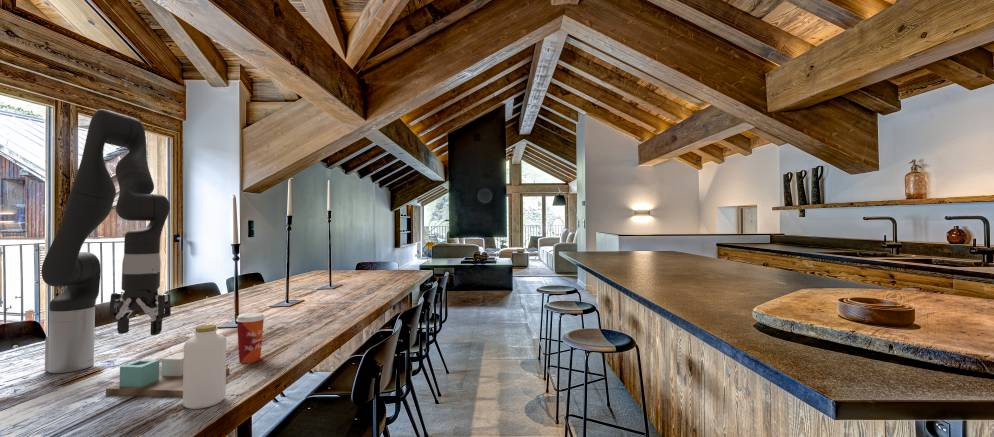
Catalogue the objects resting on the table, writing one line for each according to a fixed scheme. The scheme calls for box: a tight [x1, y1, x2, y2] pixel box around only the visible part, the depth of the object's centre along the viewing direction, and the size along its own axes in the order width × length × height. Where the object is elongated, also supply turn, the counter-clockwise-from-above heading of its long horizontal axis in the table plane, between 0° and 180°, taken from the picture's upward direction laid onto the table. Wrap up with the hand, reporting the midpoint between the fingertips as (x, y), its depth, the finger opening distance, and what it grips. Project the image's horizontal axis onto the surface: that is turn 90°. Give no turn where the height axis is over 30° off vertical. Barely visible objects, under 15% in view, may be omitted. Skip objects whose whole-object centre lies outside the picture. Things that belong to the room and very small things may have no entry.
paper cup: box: [235, 312, 266, 364], centre depth 129 cm, size 8×8×14 cm
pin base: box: [105, 364, 230, 398], centre depth 110 cm, size 20×16×6 cm
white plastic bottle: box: [182, 324, 227, 410], centre depth 98 cm, size 8×8×18 cm
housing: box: [161, 352, 184, 376], centre depth 113 cm, size 5×5×4 cm
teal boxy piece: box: [119, 359, 160, 387], centre depth 106 cm, size 5×5×5 cm
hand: (139, 333), depth 107 cm, fingers open, 8 cm apart
